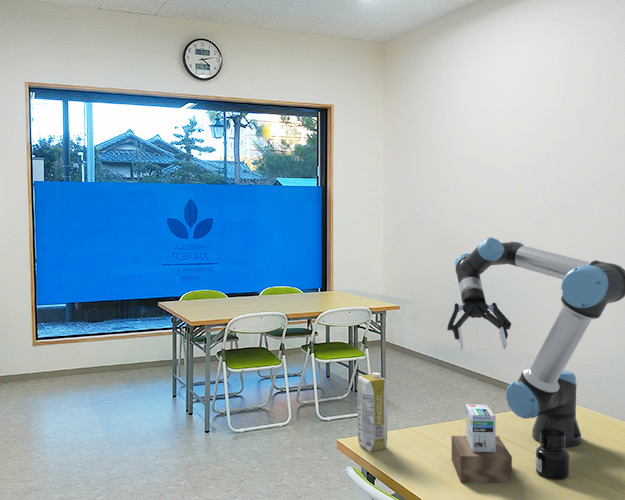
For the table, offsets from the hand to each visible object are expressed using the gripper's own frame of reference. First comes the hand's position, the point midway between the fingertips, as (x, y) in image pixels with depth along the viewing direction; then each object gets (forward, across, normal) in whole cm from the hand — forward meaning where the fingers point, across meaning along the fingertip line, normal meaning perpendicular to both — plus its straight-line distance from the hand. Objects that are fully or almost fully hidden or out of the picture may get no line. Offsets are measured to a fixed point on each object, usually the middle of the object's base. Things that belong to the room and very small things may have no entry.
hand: (483, 347), depth 195 cm
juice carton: (+22, +35, -25) cm, 48 cm away
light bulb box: (+30, +5, -6) cm, 31 cm away
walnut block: (+36, +5, -12) cm, 38 cm away
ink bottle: (+37, -15, -10) cm, 41 cm away
